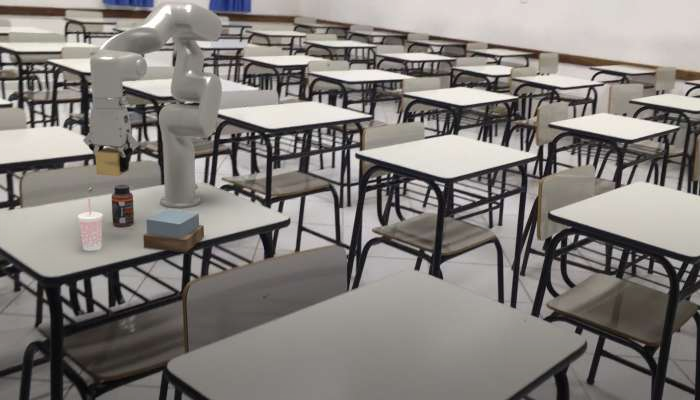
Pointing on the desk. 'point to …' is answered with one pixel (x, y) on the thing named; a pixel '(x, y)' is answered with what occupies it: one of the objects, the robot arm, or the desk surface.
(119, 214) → the supplement bottle
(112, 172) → the ochre cube
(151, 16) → the robot arm
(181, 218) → the tower top
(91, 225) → the beverage cup
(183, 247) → the tower base
